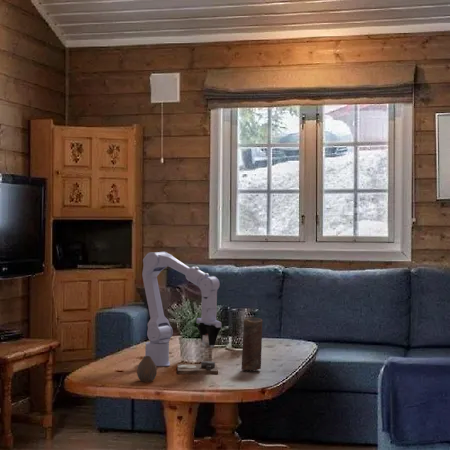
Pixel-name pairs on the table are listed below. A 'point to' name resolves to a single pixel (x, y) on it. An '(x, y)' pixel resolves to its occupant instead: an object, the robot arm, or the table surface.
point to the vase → (146, 369)
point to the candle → (252, 344)
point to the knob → (206, 342)
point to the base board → (198, 368)
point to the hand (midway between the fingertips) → (208, 344)
